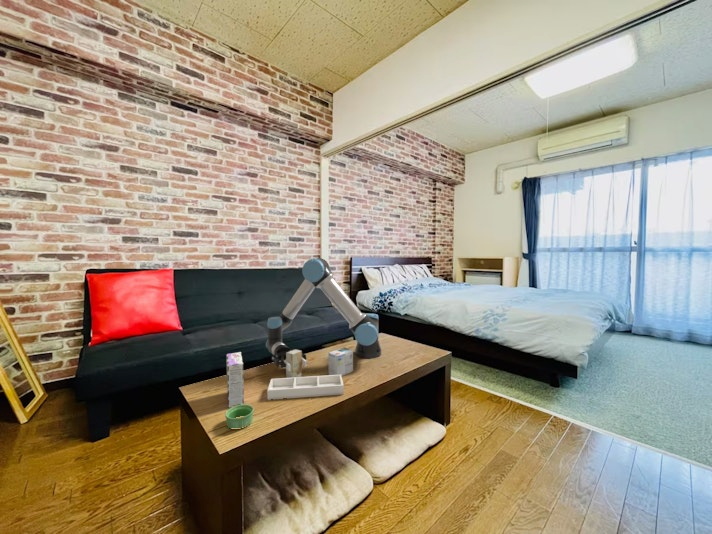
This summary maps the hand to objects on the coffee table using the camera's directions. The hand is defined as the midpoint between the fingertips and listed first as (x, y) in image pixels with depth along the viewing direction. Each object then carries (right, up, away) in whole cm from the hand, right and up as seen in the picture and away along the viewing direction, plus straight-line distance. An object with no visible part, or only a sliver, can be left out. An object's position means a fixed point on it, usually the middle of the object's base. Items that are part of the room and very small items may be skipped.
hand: (298, 366), depth 130 cm
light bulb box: (+19, -7, +10) cm, 22 cm away
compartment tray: (+5, -8, -8) cm, 13 cm away
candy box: (-22, -8, -14) cm, 28 cm away
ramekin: (-14, -9, -31) cm, 35 cm away
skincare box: (-3, -7, +5) cm, 9 cm away
